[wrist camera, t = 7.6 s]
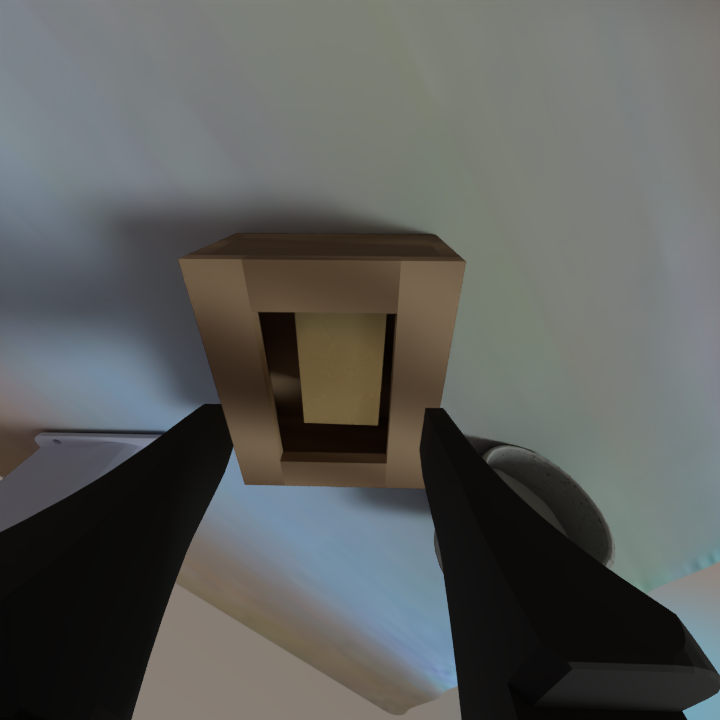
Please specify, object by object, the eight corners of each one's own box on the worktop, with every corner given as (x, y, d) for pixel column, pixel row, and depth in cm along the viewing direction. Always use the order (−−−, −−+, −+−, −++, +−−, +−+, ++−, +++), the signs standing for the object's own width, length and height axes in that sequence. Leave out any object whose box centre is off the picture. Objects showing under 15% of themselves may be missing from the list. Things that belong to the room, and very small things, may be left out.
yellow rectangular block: (376, 383, 17) (377, 425, 15) (314, 381, 17) (304, 422, 15) (383, 279, 14) (387, 305, 11) (308, 276, 14) (293, 302, 11)
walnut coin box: (412, 419, 19) (425, 488, 15) (271, 417, 20) (244, 484, 15) (435, 234, 14) (466, 261, 9) (236, 232, 14) (178, 258, 10)
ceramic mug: (419, 505, 24) (440, 629, 18) (466, 432, 20) (516, 560, 13) (537, 527, 26) (598, 649, 19) (604, 463, 21) (710, 592, 15)
